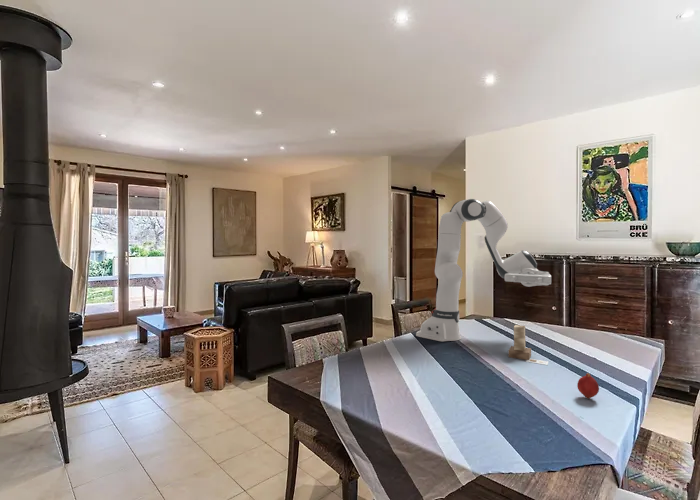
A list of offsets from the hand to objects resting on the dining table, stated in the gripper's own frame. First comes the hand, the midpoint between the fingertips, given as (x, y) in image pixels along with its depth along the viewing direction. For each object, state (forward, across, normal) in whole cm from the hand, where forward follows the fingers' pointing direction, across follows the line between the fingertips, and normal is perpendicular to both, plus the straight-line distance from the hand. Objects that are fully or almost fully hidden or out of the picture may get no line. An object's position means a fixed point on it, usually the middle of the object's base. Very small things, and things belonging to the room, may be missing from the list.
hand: (525, 279), depth 172 cm
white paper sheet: (+18, +7, +32) cm, 37 cm away
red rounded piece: (+49, +24, +32) cm, 63 cm away
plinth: (+14, 0, +32) cm, 35 cm away
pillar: (+14, 0, +29) cm, 32 cm away
